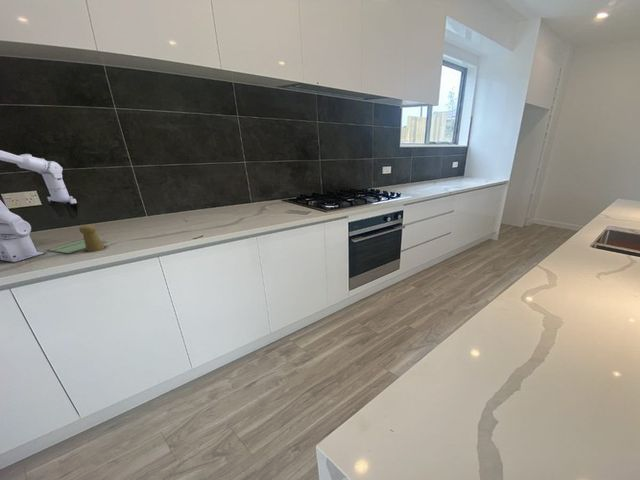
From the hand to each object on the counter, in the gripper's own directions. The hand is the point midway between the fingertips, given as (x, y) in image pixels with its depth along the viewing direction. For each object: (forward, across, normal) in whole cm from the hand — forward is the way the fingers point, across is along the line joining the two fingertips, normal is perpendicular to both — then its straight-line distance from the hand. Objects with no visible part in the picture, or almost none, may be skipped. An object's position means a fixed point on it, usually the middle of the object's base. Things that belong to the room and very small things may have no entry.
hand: (69, 217), depth 141 cm
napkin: (+10, -12, +8) cm, 18 cm away
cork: (+11, -23, +8) cm, 26 cm away
